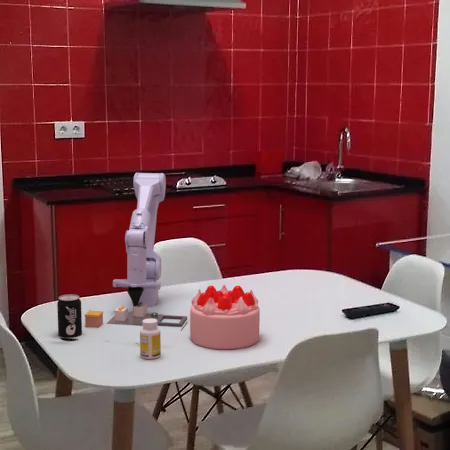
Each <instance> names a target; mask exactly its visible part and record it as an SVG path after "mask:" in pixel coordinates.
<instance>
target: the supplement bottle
mask: <svg viewBox="0 0 450 450" xmlns="http://www.w3.org/2000/svg"><path fill="white" fill-rule="evenodd" d="M161 343H162V341H161V330H160V328H159V326H158V321H157V320H156V319H144V320H143V321H142V326H141V328H140V331H139V351H140V352H139V354H140V355H139V356H140V357H141V359H146V360H153V359H154V360H155V359H158V358H160V357H161V355H162V351H161V349H162V348H161V346H162V345H161Z"/></svg>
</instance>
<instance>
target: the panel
mask: <svg viewBox="0 0 450 450" xmlns="http://www.w3.org/2000/svg"><path fill="white" fill-rule="evenodd" d="M161 315H163V314H161V313H158V312H151V313H146V314H145V315H144V317H137V316H134V312H129V311H128V318H127V319H126V320H125V321H117V320H115V315H114V316H112V317H111V318H110V319H109V321H107V322H106V324H107V325H120V326H122V325H124V326H139V327H143V326H142V321H143V320H144V319H156V320H157V319H158V318H159V317H160V316H161Z"/></svg>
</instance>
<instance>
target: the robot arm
mask: <svg viewBox="0 0 450 450" xmlns="http://www.w3.org/2000/svg"><path fill="white" fill-rule="evenodd" d="M166 181H167V179H166V175H165V174H164V173H163V172H159V173H158V172H155V173H154V172H153V173H152V172H135V174H134V176H133V181H132V182H133V183H132V184H133V190H134V194H135V197H136V200H137V205H136V209H134V210H133V211H132V215H131V217H130V224H129V228H128V229H129V230H128V229H127V230H126V231H125V235H124V242H125V252H126V254H127V256H126V258H127V262H126V263H127V265H126V267H127V268H126V269H127V271H126V272H127V273H126V275H127V278H125V279H122V278H121V279H116V278H114V279H113V280H112V287H113V288H117V287H119V288H121V287H122V288H127V290H126V292H127V294H128V295H129V298H130V301H131V303H132V306H133V307H132V310H133V312H134V306H137V305H138V303H140V302H143V304H147V308H151V307H155V306H157V302H159V290H161V285H162V283H161V282H158V281H159V280H160V279H161V277H162V259H161V256H160V255H159V254H158V253H157V252H155V250H154V248H155V237H156V227H157V215H158V208H159V204H160V203H161V202H163V201H164V200H165V197H166V187H167V183H166Z"/></svg>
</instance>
